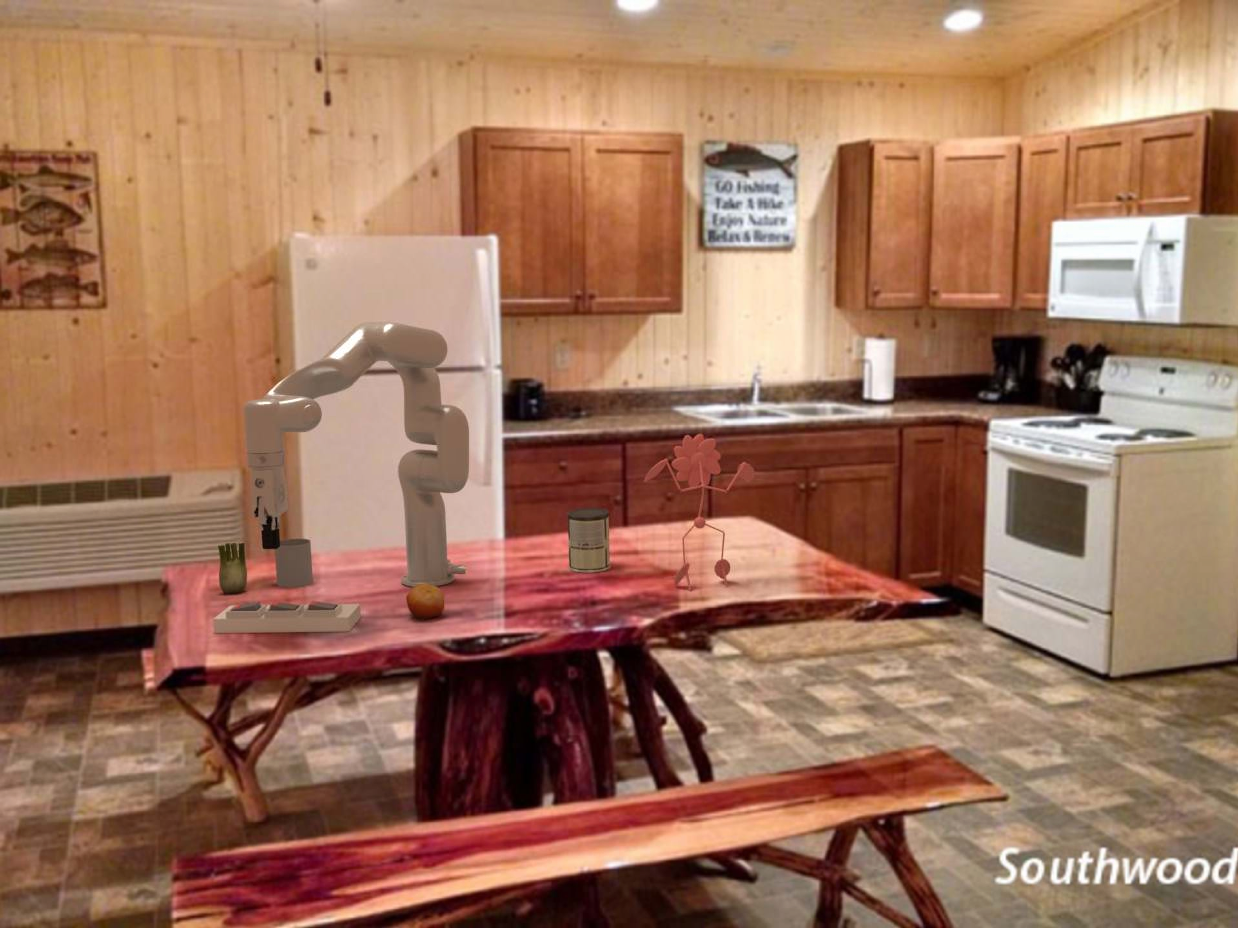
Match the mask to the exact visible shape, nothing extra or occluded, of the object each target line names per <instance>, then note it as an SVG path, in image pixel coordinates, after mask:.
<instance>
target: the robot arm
mask: <svg viewBox="0 0 1238 928" xmlns="http://www.w3.org/2000/svg"><path fill="white" fill-rule="evenodd" d="M447 355H448V344H447V341H446V339H445V338H444V336H443V335H442V334H441V333H439V332H438V331H436V330H433V329H429V328H423V327H418V326H413V325H408V324H403V323H398V322H390V321H389V322H388V321H387V322H386V321H385V322H383V321H381V322H380V321H379V322H378V321H371V322H370V321H369V322H368V321H367V322H364V323H360V324H358V325H357V326H355V327H354V328H353V329H352V330H351V331H349V333H348V334H347V335H345V337H343V338H342V339H341V340H340V341H339V342H338V343H337V344H336V345H334V347H332V349H330V350H329V351H328V352H327V353H326V354H325V355H324V356H323V357H322V358H320V359H318V360H316V361H313V362H312V363H310V364H307V365H306V366H304V367H302V368H300V369H298V370H296V371H295V372H292V373H290V374H289V375H287V376H285V377H284V378H283V379H281V380H280V381H279V382H278V383H277V384H275V386H273V387H272V388H271V389H270V390H269V391H268V392H266V394H265V395H264V396H263V397H262V399H261V398H260V399H252V400H248V401H246V402H245V403H244V406H243V417H244V418H243V419H244V434H245V436H244V438H245V448H246V449H245V451H246V464H247V466H246V468H247V470H250V504H251V505H250V506H251V513H252V516H253V517H254V518H257V521H258V522H257V523H258V525H260V530H261V545H262V547H261V548H262V549H263V550H275V549H278V548H279V547H280V541H281V537H280V535H281V534H280V516H281V515H282V514H284V513H285V512H287V511H288V509H289V507H290V506H289V505H290V504H289V491H288V486H287V484H288V483H287V477H286V471H285V468H286V450H285V449H286V448H285V433H308V432H311V431H312V430H314V429H315V428H316V427H318V426H319V424H320V423H321V420H322V416H323V412H322V408H321V406H320V404H319V403H318V402H317V401H316V400H315V399H318V398H321V397H324V396H329V395H332V394H337V393H339V392H342V391H343V392H344V391H345V390H348V389H349V388H351V387H352V386H353V385H354V384H355V383H356V382H357V381H358V380H359V379H361V377H362V376H364V374H365V373H366V372H367V371H368V370H369V369H370V368H372V367H373V365H375V364H376V363H377V362H381V361H382V362H387V363H389V364H390V366H392V368H394V369H395V371H396V372H397V373H398V375H399V378H400V379H401V382H402V385H403V396H404V397H403V409H404V410H403V414H404V415H403V417H404V418H403V419H404V421H403V425H404V433H405V437H407V439H408V440H409V441H410V442H413V443H416V444H421V445H431V446H436V450H433V449H432V450H431V449H419V448H418V449H413V450H410V451H408V452H406V453H405V454H403V456H402V457H401V458H400V460H399V462H398V466H397V474H398V475H397V476H398V480H399V483H400V488H401V491H402V498H403V499H402V500H403V507H404V527H405V528H404V529H405V530H404V531H405V547H406V548H405V549H406V568H407V569H406V570H407V573H405V574H404V575H402V576H401V578H400V579H401V580H400V581H401V584H403V585H405V586H407V587H411V588H413V587H415V586H417V585H419V584H423V583H427V584H430V585H432V586H436V587H439V586H444V585H448V584H450V583H452V582H454V581H455V579H456V578H455V576H456V575H466V574H467V567H466V565H463V564H453V563H451V559H448V546H447V544H448V543H447V523H446V522H447V521H446V520H447V519H446V507H445V501H444V499H443V497H442V494H455V493H458V492H460V491H461V490H463V488H464V487H465V486H466V484H467V482H468V479H469V473H470V426H469V422H468V419H467V417H466V415H465V413H464V412H463V410H462V409H460V408H459V407H457V406H456V405H450V404H443V403H442V394H441V381H440V380H441V379H440V376H439V373H438V372H437V370H436V367H439V366H441V365H442V364H443V363H444V361H445V360H446V358H447ZM441 493H442V494H441Z"/></svg>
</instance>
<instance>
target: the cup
mask: <svg viewBox="0 0 1238 928" xmlns="http://www.w3.org/2000/svg"><path fill="white" fill-rule="evenodd" d="M311 545H312V544H311V540H310V539H308V538H288V539H283V540H281V539H280V547H279V548H278V549H274V557H275V558H274V559H275V573H276V586H277V585H278V586H277V587H280V588H284V587H286V588H288V589H290V588H289V587H295V588H302V587H305V586H306V585H307V586H309V585H311V583H312V584H314V579H313V576H314V575H313V561H312V547H311Z"/></svg>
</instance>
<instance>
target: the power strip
mask: <svg viewBox="0 0 1238 928" xmlns="http://www.w3.org/2000/svg"><path fill="white" fill-rule="evenodd" d="M336 604H337V606H336V608H335V609H334V610H308V607H309V604H300V603H299V604H298V605H299V606H298V608H297V609H296V610H292V611H270V605H271V604H270V605H269V604H260V606H261V607H260V608H259V609H258V610H257V611H231V610H232V609H233V608H234V607H235V606H237V604H234V605H228V606H227V607H226V609H224V610H222V611H221V612H220V613H219V614H218V615H216V616H215V617H214V618H213V632H214V634H240V633H243V634H245V633H247V634H248V633H251V634H253V633H255V634H256V633H318V632H319V633H321V632H322V633H324V632H326V633H327V632H328V633H332V632H333V633H334V632H336V633H337V632H338V633H339V632H340V633H341V632H350V631H351V630H352V629H353V628H354V626H355V625H356V624H357V623H358V622H359V620H360V619H361V616H362V615H361V614H362V613H361V604H360V603H345V604H344V603H343V604H342V603H336ZM355 623H356V624H355Z"/></svg>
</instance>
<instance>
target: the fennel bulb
mask: <svg viewBox="0 0 1238 928" xmlns="http://www.w3.org/2000/svg"><path fill="white" fill-rule="evenodd" d="M217 547H218V554H219V570H218V571H219V573H218V582H219V587H220V590H221V591H222V592H224V593H225V594H237V593H241V592H243V591H245V589H246V587H247V583H248V582H247V581H248V570H247V569H248V568H247V563H246V552H245V550H246V549H245V542H244V541H243V542H239V543H238V547H237V542H231V543H230V542H226V543H225V544H224V543H223V544H222V543H221V544H218V545H217Z"/></svg>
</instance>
